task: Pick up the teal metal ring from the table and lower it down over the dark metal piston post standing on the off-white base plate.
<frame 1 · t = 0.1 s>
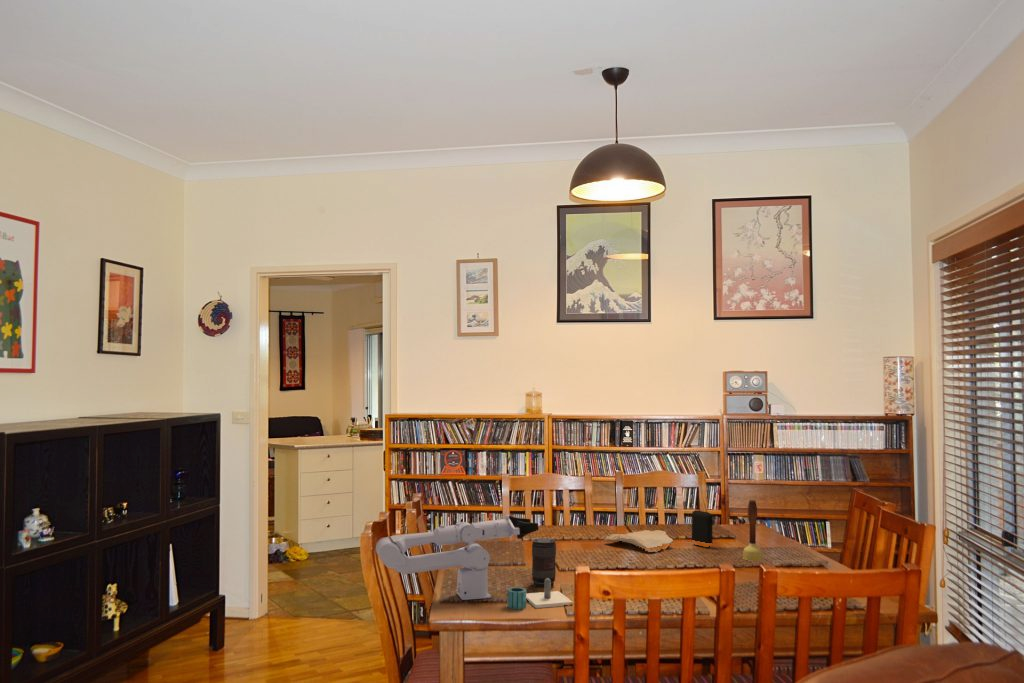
hand: (534, 524, 243), 22 cm above the table, tool horizontal, fingers open, 7 cm apart
beige curved shard: (640, 547, 311), on the table
piston: (547, 600, 231), on the table
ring: (516, 606, 225), on the table
carrying case or bag: (702, 547, 311), on the table
camera lens: (543, 585, 249), on the table
handbell: (752, 568, 277), on the table
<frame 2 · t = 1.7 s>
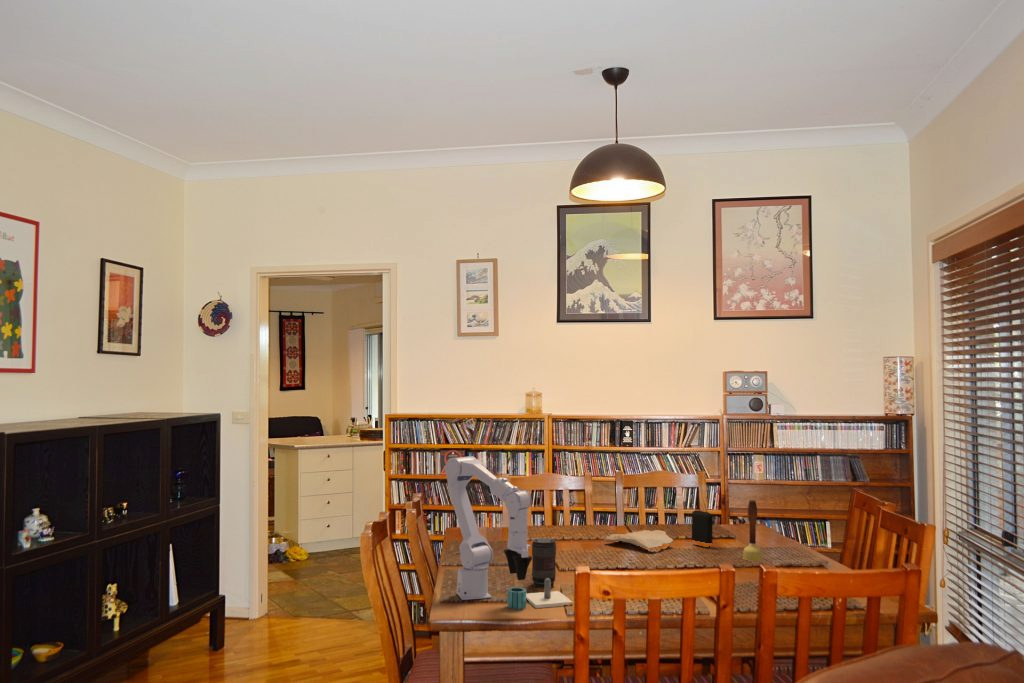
hand: (517, 576, 226), 9 cm above the table, tool pointing down, fingers open, 7 cm apart
nothing on the table moved.
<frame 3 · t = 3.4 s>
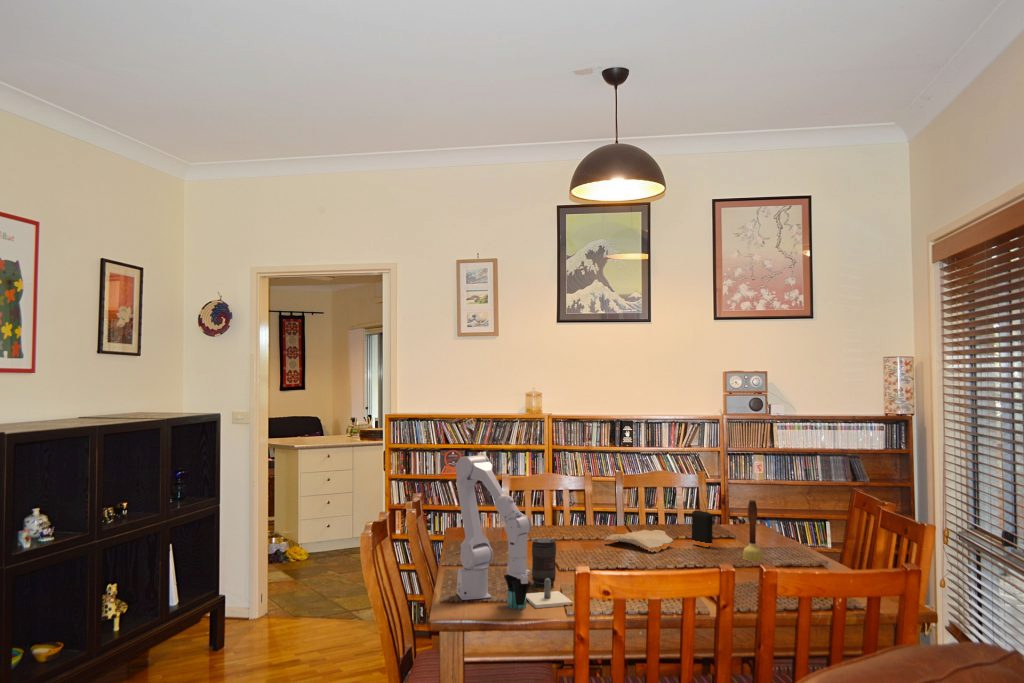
hand: (516, 601, 225), 1 cm above the table, tool pointing down, fingers closed on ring, 6 cm apart
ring: (516, 606, 225), on the table, touching gripper
everything else where it was.
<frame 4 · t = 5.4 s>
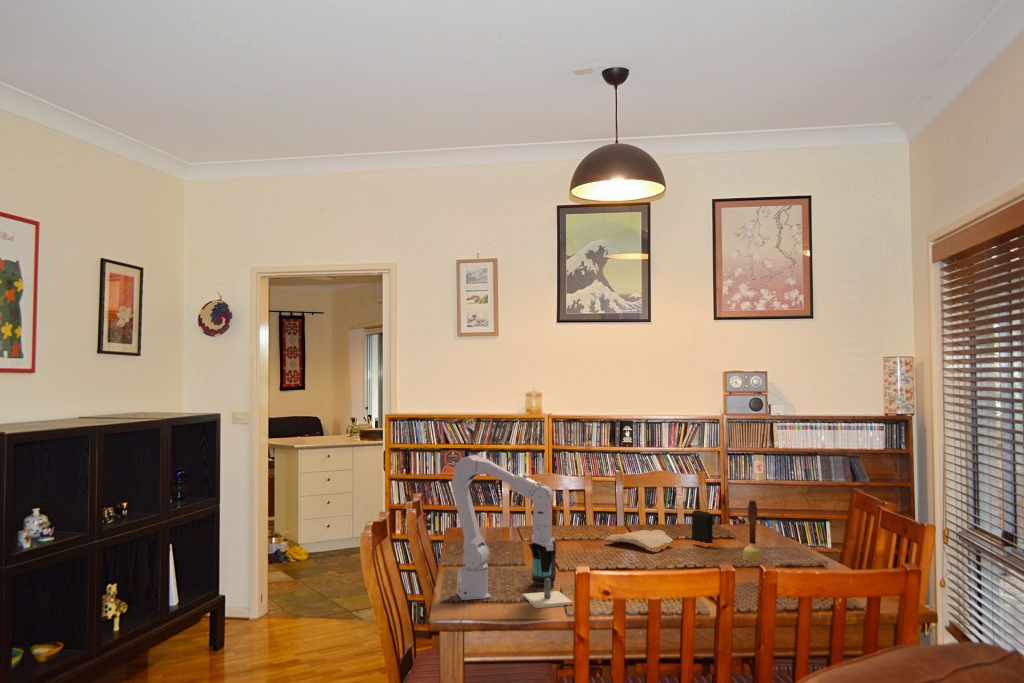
hand: (542, 569, 231), 10 cm above the table, tool pointing down, fingers closed on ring, 6 cm apart
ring: (541, 574, 231), point 9 cm above the table, touching gripper
everything else where it was.
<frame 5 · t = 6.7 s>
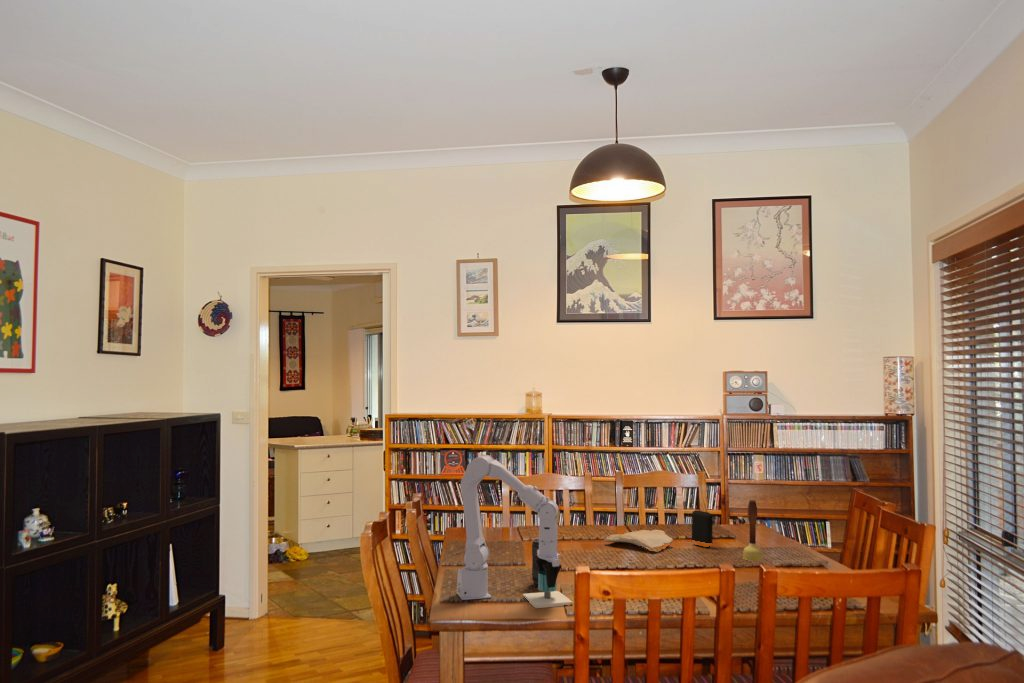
hand: (547, 584, 232), 5 cm above the table, tool pointing down, fingers closed on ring, 6 cm apart
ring: (547, 589, 232), point 4 cm above the table, touching gripper
everything else where it was.
when the fingers open (4 cm above the table, at t = 7.6 s): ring drops 1 cm, resting on piston.
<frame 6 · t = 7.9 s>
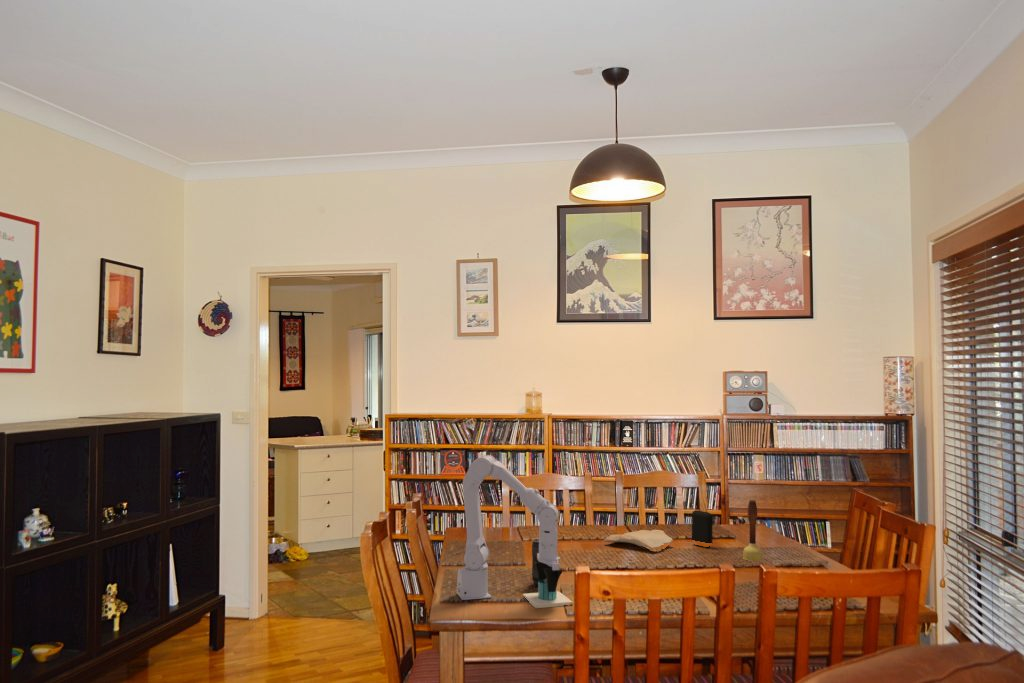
hand: (547, 588, 232), 4 cm above the table, tool pointing down, fingers open, 7 cm apart
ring: (547, 597, 231), point 1 cm above the table, touching piston
everything else where it was.
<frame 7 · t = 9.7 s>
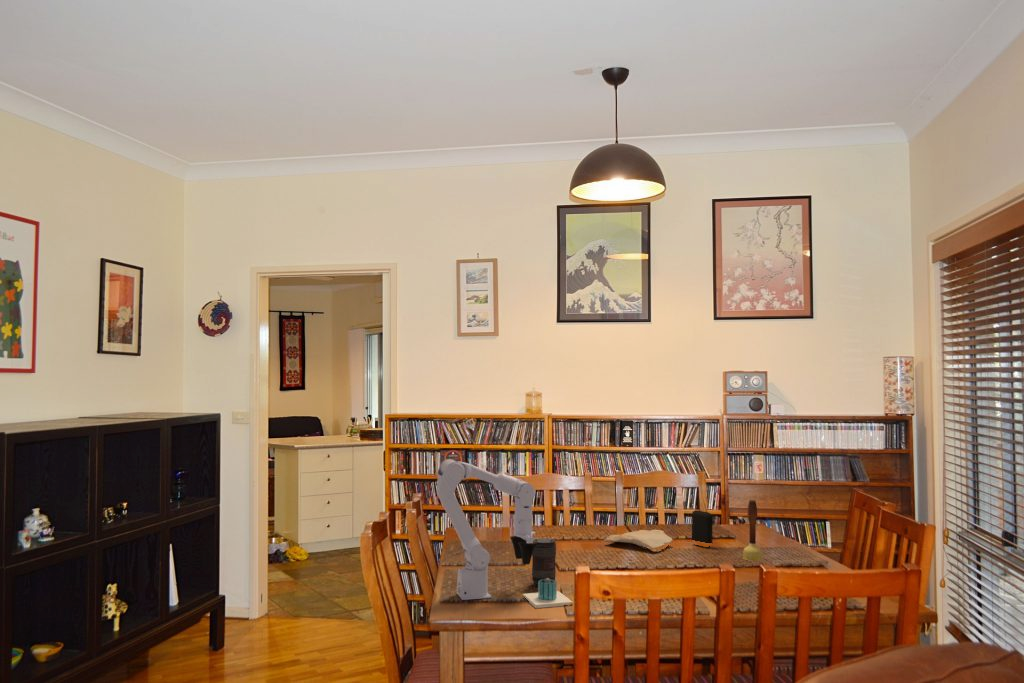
hand: (522, 561, 241), 10 cm above the table, tool pointing down, fingers open, 7 cm apart
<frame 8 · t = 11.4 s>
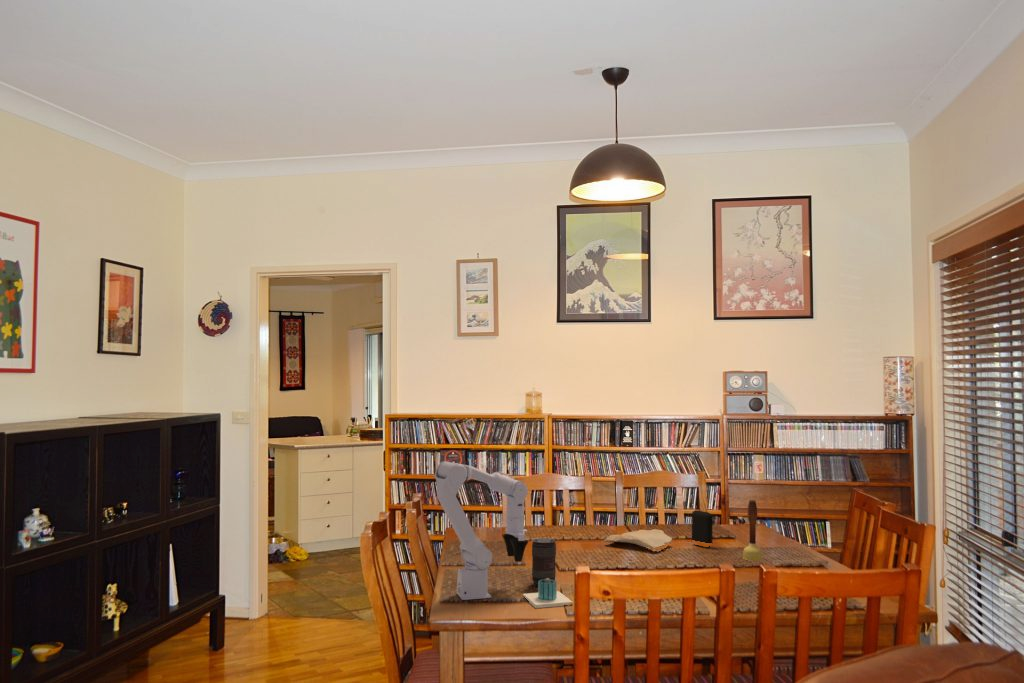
hand: (514, 558, 244), 10 cm above the table, tool pointing down, fingers open, 7 cm apart
at the end: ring 0.0 cm from the piston (horizontally); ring point 1.0 cm above the table; the gripper is holding nothing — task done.
